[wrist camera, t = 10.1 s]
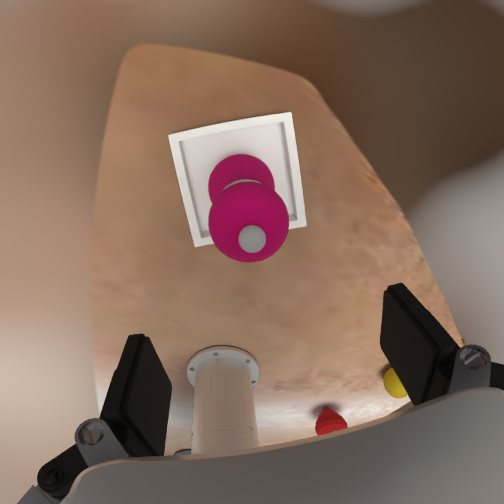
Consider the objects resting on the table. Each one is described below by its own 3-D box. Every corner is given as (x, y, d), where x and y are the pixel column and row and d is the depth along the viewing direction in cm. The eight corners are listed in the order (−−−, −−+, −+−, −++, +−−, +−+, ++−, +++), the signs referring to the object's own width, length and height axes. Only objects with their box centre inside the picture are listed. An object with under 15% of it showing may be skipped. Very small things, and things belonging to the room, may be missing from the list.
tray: (301, 218, 41) (306, 226, 39) (197, 237, 41) (195, 247, 39) (286, 112, 35) (291, 112, 33) (172, 133, 35) (168, 135, 33)
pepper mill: (279, 165, 37) (330, 218, 19) (253, 216, 40) (276, 307, 22) (225, 140, 35) (224, 167, 17) (200, 193, 38) (178, 270, 20)
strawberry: (328, 419, 62) (339, 454, 53) (303, 412, 59) (313, 450, 50) (346, 404, 60) (359, 440, 51) (322, 396, 58) (334, 435, 49)
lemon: (374, 378, 57) (387, 406, 50) (384, 358, 55) (400, 387, 47) (395, 376, 58) (409, 403, 50) (406, 357, 56) (422, 384, 48)
